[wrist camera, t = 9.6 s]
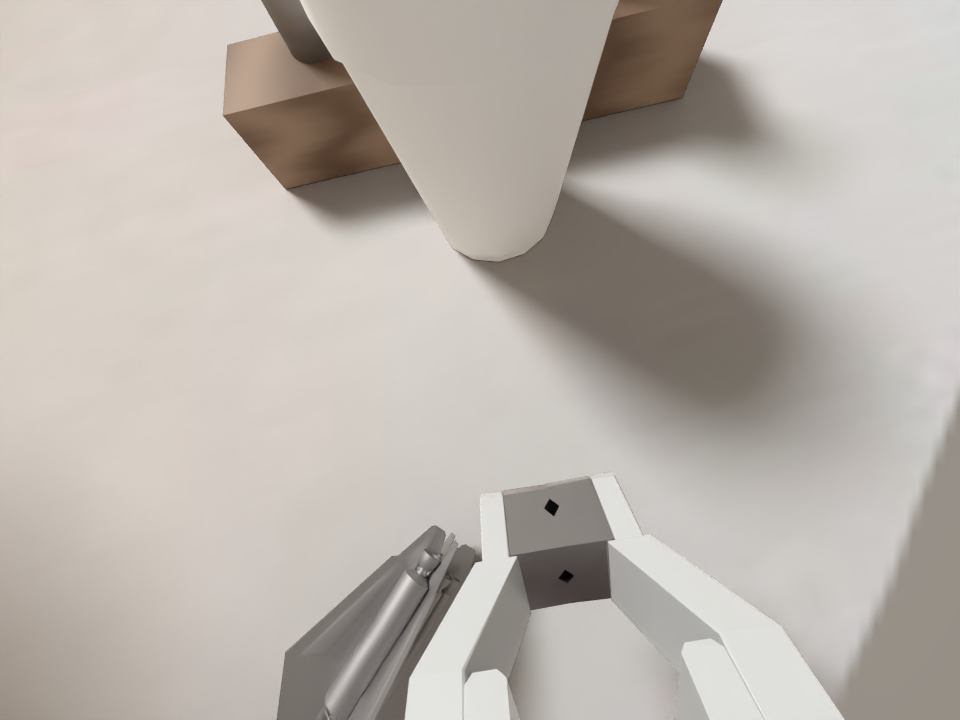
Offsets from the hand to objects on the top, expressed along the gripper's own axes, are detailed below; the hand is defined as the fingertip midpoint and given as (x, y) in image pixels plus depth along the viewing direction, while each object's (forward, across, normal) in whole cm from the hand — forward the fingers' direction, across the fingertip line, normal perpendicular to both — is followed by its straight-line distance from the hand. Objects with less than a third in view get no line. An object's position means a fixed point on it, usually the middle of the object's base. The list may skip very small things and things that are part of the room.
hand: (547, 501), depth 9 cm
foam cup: (+16, -1, -4) cm, 17 cm away
